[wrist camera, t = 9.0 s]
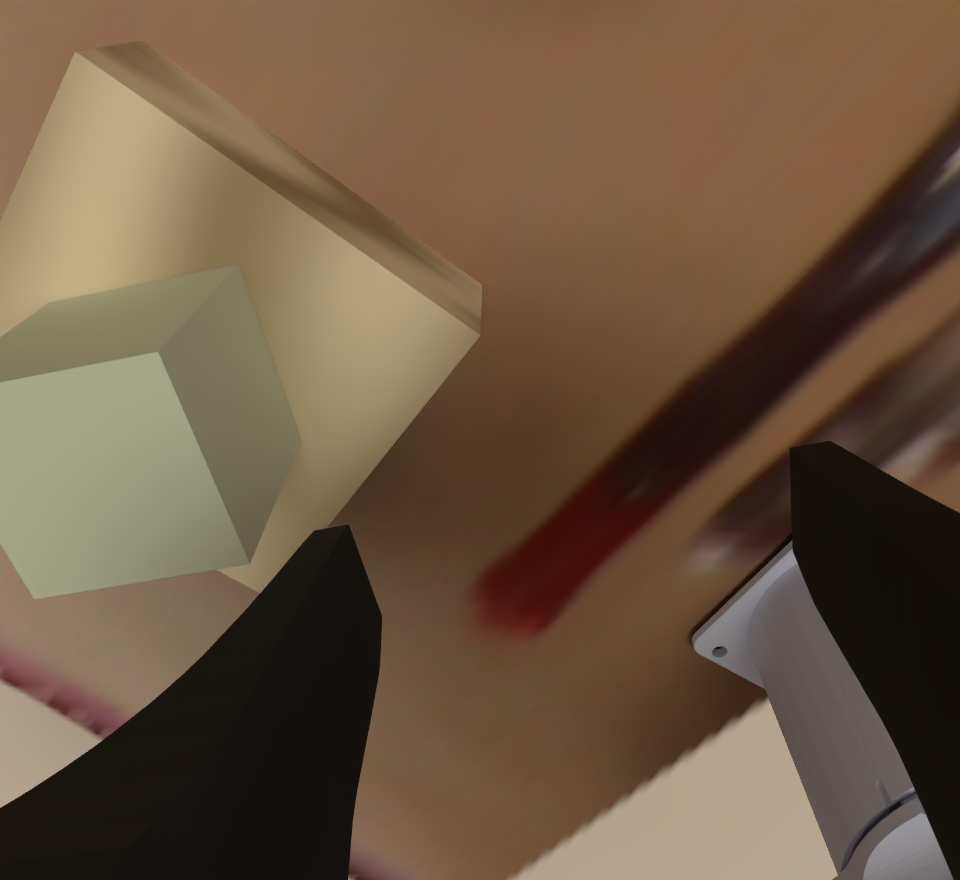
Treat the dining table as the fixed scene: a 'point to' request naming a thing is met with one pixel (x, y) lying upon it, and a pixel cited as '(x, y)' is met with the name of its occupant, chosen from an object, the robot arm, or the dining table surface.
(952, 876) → the robot arm
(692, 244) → the dining table surface
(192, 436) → the sage block
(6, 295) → the bamboo box
